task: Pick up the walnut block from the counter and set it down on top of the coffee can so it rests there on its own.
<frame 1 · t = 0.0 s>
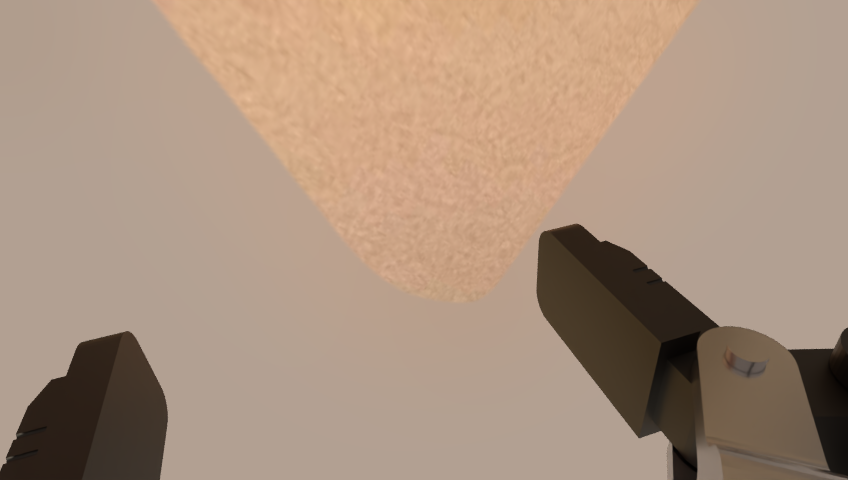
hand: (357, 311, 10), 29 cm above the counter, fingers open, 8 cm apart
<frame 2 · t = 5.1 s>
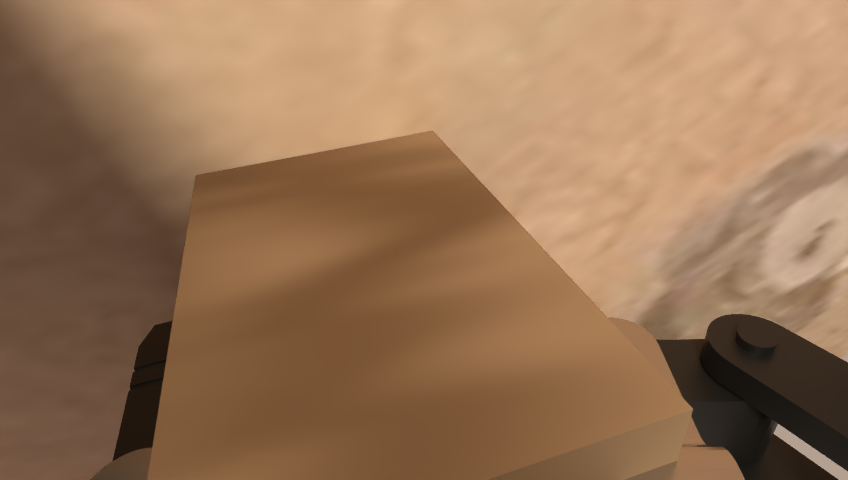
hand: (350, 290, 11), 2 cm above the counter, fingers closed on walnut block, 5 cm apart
walnut block: (339, 250, 12), on the counter, touching gripper
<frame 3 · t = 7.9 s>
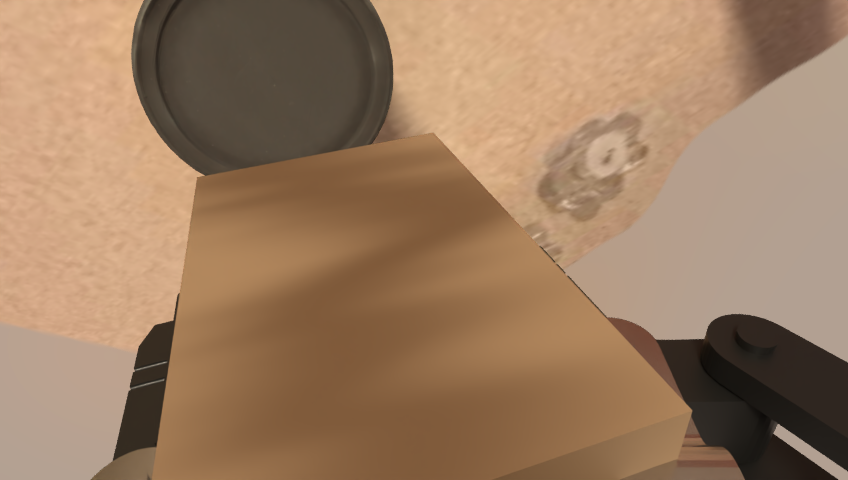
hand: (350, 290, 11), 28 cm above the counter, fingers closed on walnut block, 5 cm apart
walnut block: (340, 251, 12), point 26 cm above the counter, touching gripper
coffee can: (262, 24, 33), on the counter
when the fingers open (16 cm above the counter, at t = 11.0 s): walnut block stays where it is, resting on coffee can.
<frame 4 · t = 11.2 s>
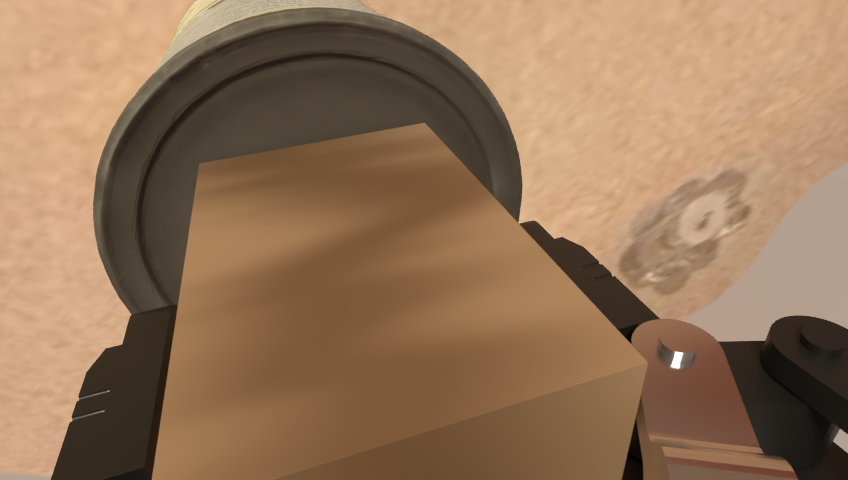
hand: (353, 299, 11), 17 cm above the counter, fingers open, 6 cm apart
walnut block: (335, 237, 13), point 14 cm above the counter, touching coffee can
coffee can: (287, 86, 24), on the counter, touching walnut block
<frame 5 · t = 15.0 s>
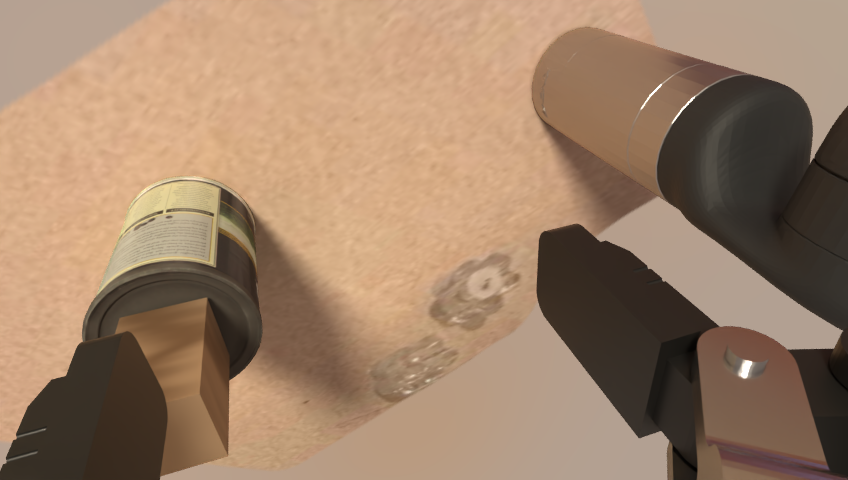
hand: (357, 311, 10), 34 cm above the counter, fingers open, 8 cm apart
walnut block: (177, 337, 33), point 14 cm above the counter, touching coffee can
coffee can: (192, 228, 44), on the counter, touching walnut block
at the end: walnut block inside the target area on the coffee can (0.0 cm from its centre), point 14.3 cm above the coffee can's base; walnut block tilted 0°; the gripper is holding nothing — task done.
